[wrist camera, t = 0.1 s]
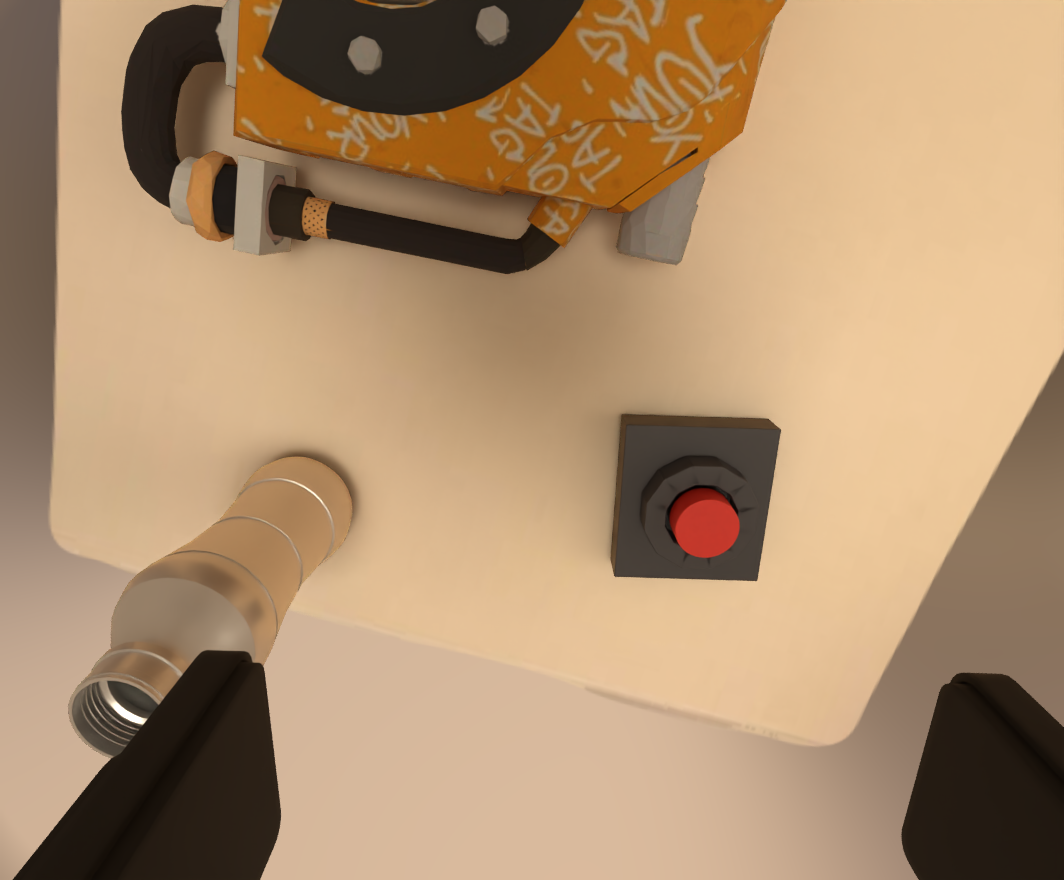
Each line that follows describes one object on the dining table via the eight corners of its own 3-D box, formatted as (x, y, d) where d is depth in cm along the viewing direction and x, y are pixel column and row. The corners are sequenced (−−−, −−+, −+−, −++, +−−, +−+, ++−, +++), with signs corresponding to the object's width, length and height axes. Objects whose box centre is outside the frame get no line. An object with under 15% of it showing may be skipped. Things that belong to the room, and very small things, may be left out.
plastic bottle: (293, 556, 43) (102, 817, 24) (238, 469, 41) (-16, 678, 22) (379, 520, 42) (251, 761, 23) (327, 429, 40) (140, 612, 21)
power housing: (621, 414, 40) (630, 434, 36) (768, 418, 40) (792, 439, 36) (610, 559, 43) (617, 592, 39) (746, 563, 43) (766, 596, 39)
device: (724, 354, 31) (69, 223, 29) (686, 327, 38) (169, 223, 37) (905, -259, 23) (51, -479, 22) (812, -138, 31) (179, -294, 30)
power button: (672, 486, 38) (678, 498, 36) (734, 488, 38) (743, 500, 36) (666, 542, 39) (672, 557, 37) (727, 544, 39) (735, 559, 37)
